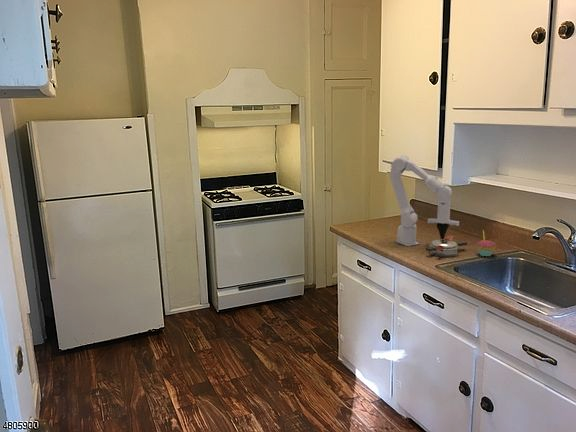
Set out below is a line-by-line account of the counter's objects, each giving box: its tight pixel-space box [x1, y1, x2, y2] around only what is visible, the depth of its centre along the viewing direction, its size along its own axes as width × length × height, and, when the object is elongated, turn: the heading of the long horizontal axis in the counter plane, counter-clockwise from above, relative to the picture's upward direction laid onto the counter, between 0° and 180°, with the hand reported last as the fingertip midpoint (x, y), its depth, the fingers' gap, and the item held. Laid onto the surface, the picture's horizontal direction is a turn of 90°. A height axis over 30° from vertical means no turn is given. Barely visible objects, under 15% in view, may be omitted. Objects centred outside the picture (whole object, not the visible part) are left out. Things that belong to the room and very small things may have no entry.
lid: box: [431, 235, 457, 251], centre depth 229 cm, size 23×11×2 cm, turn 149°
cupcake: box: [475, 230, 497, 258], centre depth 224 cm, size 9×8×12 cm
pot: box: [425, 240, 468, 258], centre depth 229 cm, size 13×23×4 cm, turn 114°
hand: (442, 238), depth 237 cm, fingers closed
